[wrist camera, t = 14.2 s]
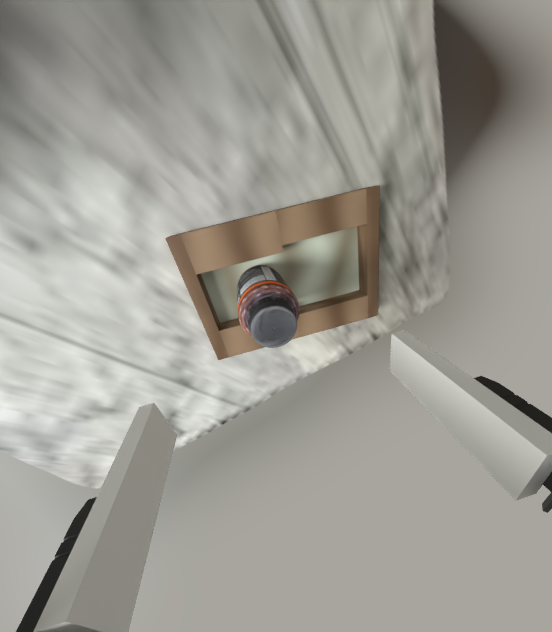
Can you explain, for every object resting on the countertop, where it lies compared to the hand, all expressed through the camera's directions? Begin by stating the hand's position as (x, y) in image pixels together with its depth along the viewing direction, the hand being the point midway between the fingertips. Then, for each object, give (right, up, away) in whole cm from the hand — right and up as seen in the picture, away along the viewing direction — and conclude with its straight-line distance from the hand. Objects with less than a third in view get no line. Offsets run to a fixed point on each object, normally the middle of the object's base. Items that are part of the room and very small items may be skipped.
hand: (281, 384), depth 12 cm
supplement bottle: (-2, +8, +16) cm, 18 cm away
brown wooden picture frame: (+1, +9, +16) cm, 19 cm away
